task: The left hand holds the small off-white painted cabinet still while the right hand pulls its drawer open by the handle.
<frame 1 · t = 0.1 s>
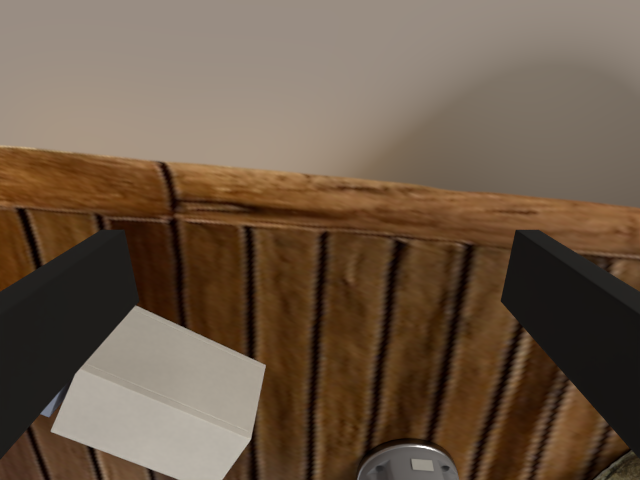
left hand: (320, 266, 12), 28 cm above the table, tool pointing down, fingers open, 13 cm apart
fossil: (617, 476, 57), on the table
drawer: (128, 375, 42), point 6 cm above the table, slide at 0.9 cm
cabinet: (187, 361, 49), on the table
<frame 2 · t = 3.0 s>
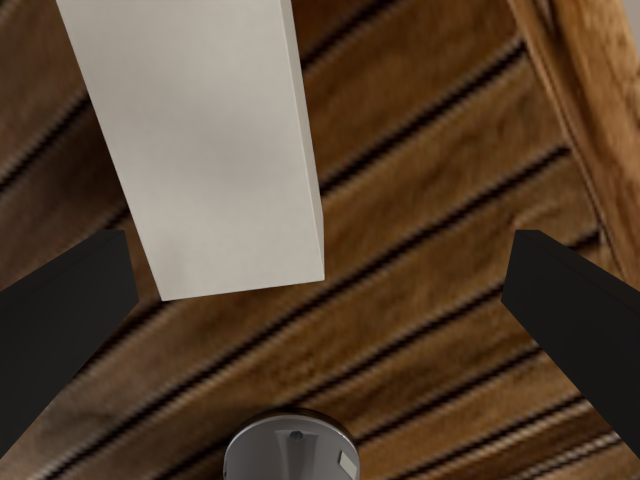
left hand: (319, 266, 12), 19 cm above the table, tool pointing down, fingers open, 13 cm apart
cabinet: (245, 114, 28), on the table
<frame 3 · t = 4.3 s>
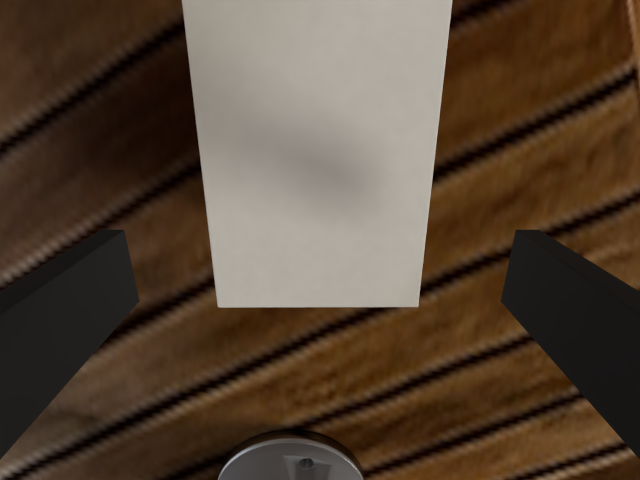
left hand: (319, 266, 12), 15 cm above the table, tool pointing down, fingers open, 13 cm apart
cabinet: (317, 100, 25), on the table
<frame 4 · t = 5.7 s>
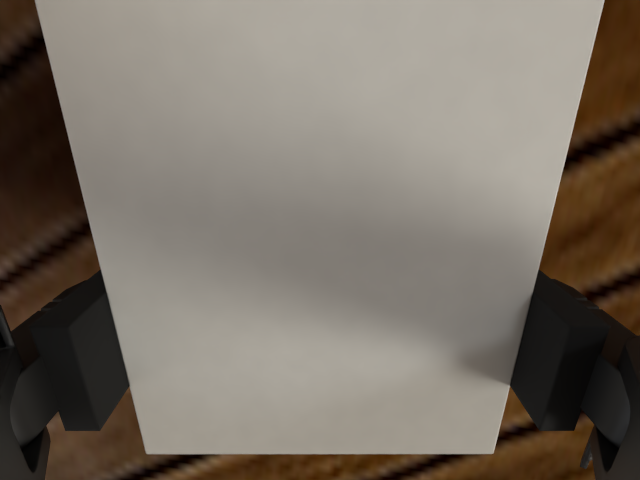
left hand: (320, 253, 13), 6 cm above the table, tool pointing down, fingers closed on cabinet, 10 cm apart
cabinet: (319, 95, 17), on the table, touching left hand
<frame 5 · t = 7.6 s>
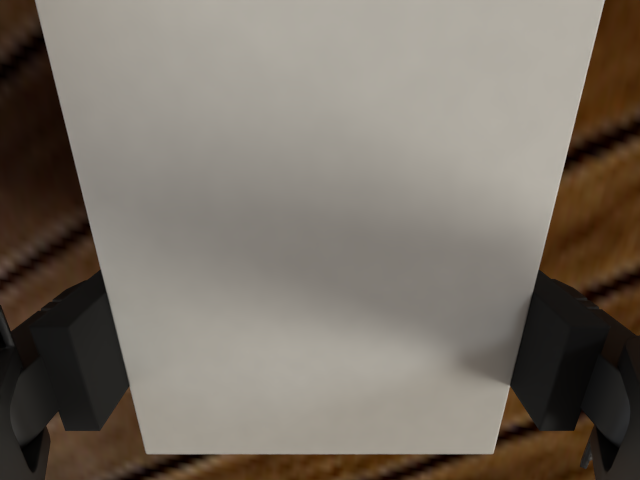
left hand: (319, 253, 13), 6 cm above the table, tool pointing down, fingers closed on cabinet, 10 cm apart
cabinet: (319, 95, 17), on the table, touching left hand
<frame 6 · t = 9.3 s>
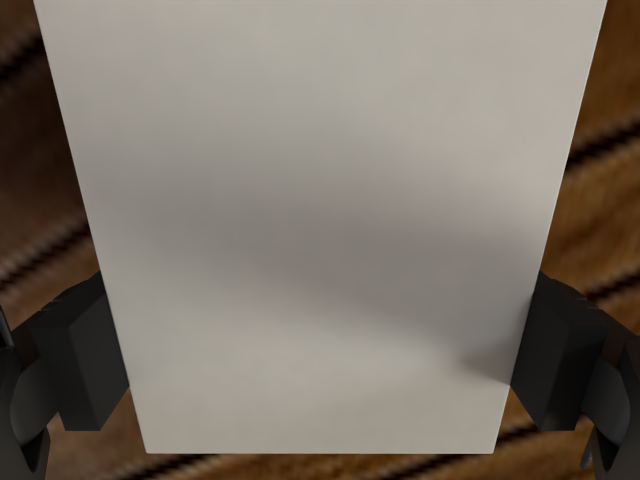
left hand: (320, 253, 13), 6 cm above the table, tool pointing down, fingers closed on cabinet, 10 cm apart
cabinet: (320, 93, 17), on the table, touching left hand
when the left hand's fingers open (6 cm above the table, at t = 10.7 s): cabinet stays where it is, on the table.
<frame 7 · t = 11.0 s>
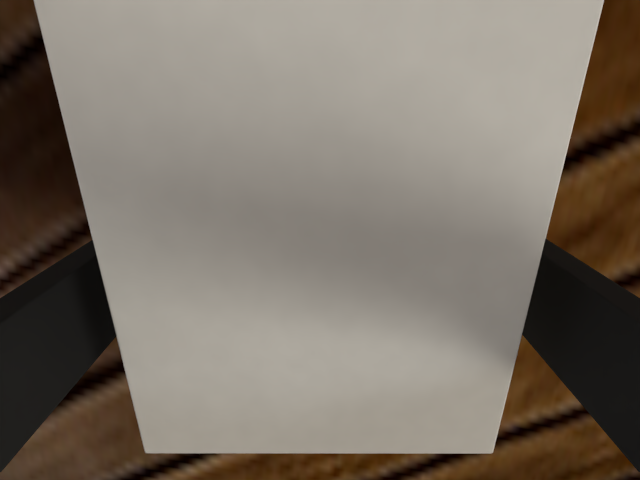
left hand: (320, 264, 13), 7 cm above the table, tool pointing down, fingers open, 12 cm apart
cabinet: (319, 94, 17), on the table
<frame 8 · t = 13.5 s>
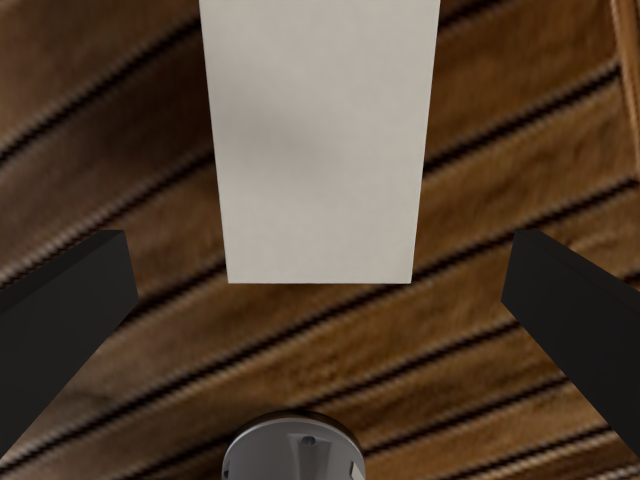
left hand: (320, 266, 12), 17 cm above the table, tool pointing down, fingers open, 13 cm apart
cabinet: (319, 94, 26), on the table
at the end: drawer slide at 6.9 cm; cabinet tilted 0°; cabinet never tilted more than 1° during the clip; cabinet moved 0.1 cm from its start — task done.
